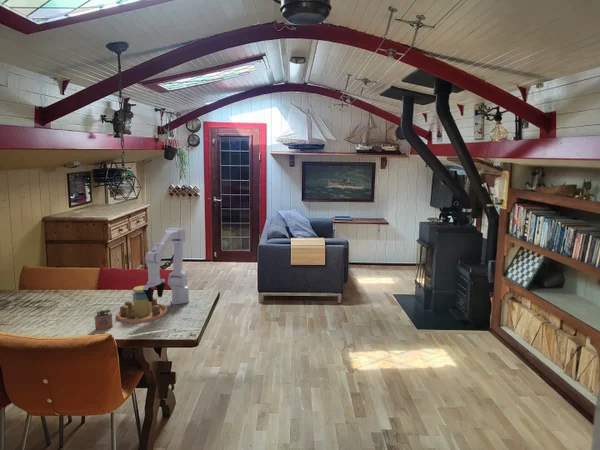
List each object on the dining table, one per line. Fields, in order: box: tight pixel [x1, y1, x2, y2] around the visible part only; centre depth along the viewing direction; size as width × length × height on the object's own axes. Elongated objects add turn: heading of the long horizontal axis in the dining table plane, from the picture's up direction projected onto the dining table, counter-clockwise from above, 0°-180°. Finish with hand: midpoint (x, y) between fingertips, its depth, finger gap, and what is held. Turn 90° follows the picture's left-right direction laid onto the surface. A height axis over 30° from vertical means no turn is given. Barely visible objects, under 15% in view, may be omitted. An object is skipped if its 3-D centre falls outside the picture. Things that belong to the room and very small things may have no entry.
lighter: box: [94, 308, 114, 331], centre depth 214 cm, size 8×3×10 cm, turn 118°
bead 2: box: [151, 305, 160, 316], centre depth 230 cm, size 4×4×5 cm
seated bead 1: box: [119, 305, 128, 317], centre depth 230 cm, size 4×4×5 cm
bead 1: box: [151, 297, 158, 306], centre depth 242 cm, size 4×4×5 cm
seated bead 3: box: [126, 309, 136, 319], centre depth 225 cm, size 4×4×5 cm
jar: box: [132, 285, 152, 317], centre depth 233 cm, size 9×9×15 cm
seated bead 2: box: [124, 300, 133, 309], centre depth 236 cm, size 4×4×5 cm
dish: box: [116, 302, 168, 324], centre depth 234 cm, size 25×25×2 cm
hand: (155, 299), depth 229 cm, fingers open, 7 cm apart
